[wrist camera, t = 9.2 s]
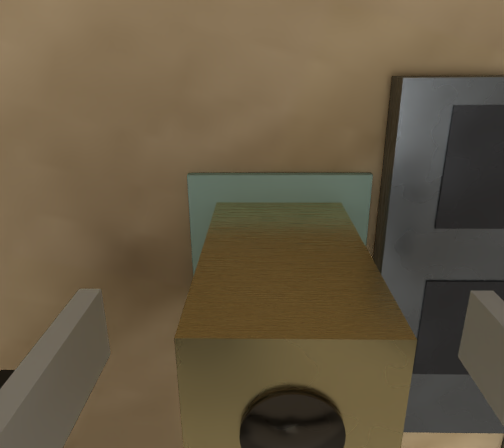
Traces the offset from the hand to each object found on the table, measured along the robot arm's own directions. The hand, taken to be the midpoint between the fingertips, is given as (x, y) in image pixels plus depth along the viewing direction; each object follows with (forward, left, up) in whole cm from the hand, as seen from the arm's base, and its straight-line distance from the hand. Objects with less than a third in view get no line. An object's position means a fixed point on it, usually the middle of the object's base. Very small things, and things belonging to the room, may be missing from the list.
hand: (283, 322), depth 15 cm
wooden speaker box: (0, 0, -5) cm, 5 cm away
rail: (+9, -5, -6) cm, 12 cm away
